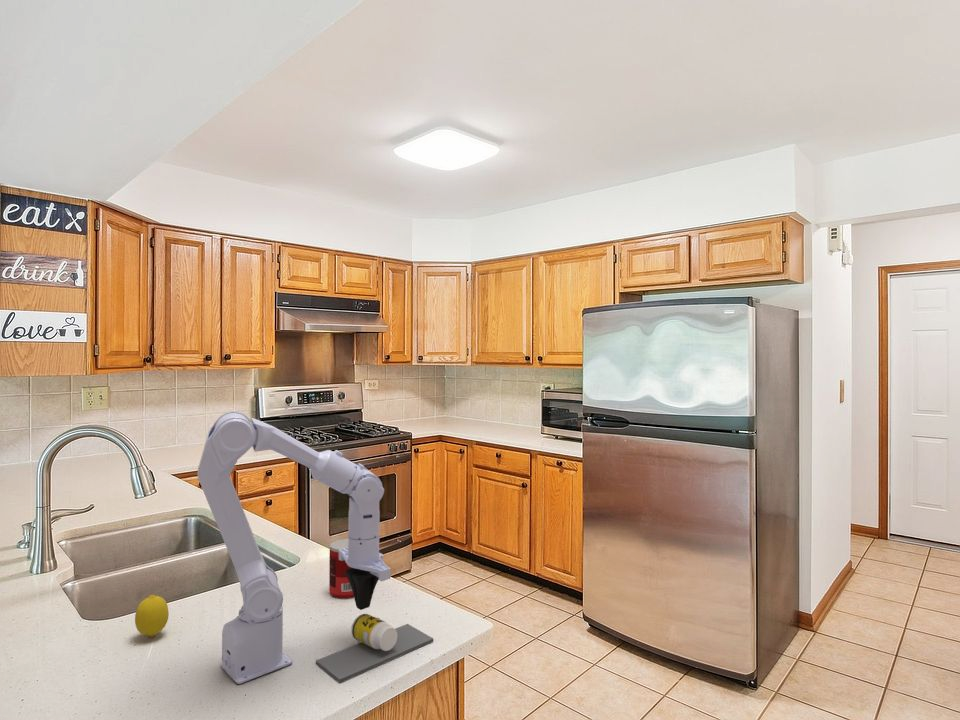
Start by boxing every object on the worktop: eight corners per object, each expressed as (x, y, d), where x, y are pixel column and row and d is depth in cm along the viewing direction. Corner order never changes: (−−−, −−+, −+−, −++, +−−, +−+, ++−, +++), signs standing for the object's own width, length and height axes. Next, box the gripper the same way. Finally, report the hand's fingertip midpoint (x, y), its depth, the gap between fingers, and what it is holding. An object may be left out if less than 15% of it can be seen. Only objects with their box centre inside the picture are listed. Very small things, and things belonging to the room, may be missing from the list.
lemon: (127, 641, 108) (128, 598, 108) (153, 627, 113) (154, 587, 113) (149, 646, 106) (150, 603, 106) (175, 633, 111) (175, 591, 111)
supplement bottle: (370, 609, 111) (398, 621, 105) (371, 633, 111) (400, 646, 105) (349, 618, 107) (377, 631, 102) (351, 644, 107) (379, 658, 102)
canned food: (372, 589, 132) (372, 542, 132) (346, 602, 126) (346, 552, 126) (347, 582, 137) (348, 535, 136) (321, 594, 130) (322, 545, 130)
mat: (339, 683, 95) (339, 679, 95) (315, 663, 101) (315, 660, 101) (433, 641, 109) (433, 638, 109) (407, 626, 115) (407, 623, 115)
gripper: (404, 539, 106) (403, 613, 106) (360, 522, 116) (360, 589, 116) (372, 548, 101) (371, 626, 101) (329, 529, 111) (328, 599, 111)
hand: (363, 607), depth 108 cm, fingers closed
